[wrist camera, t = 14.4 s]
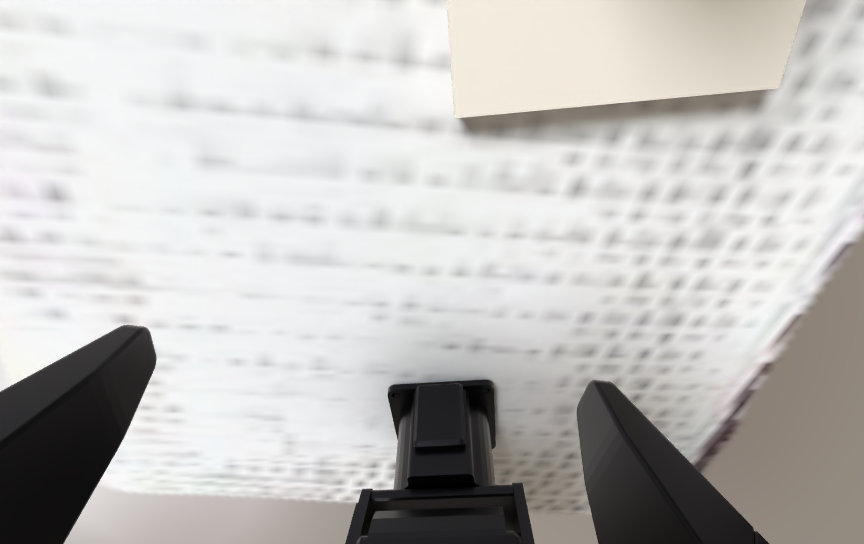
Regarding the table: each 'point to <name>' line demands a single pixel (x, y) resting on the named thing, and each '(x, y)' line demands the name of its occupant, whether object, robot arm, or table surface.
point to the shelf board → (612, 51)
